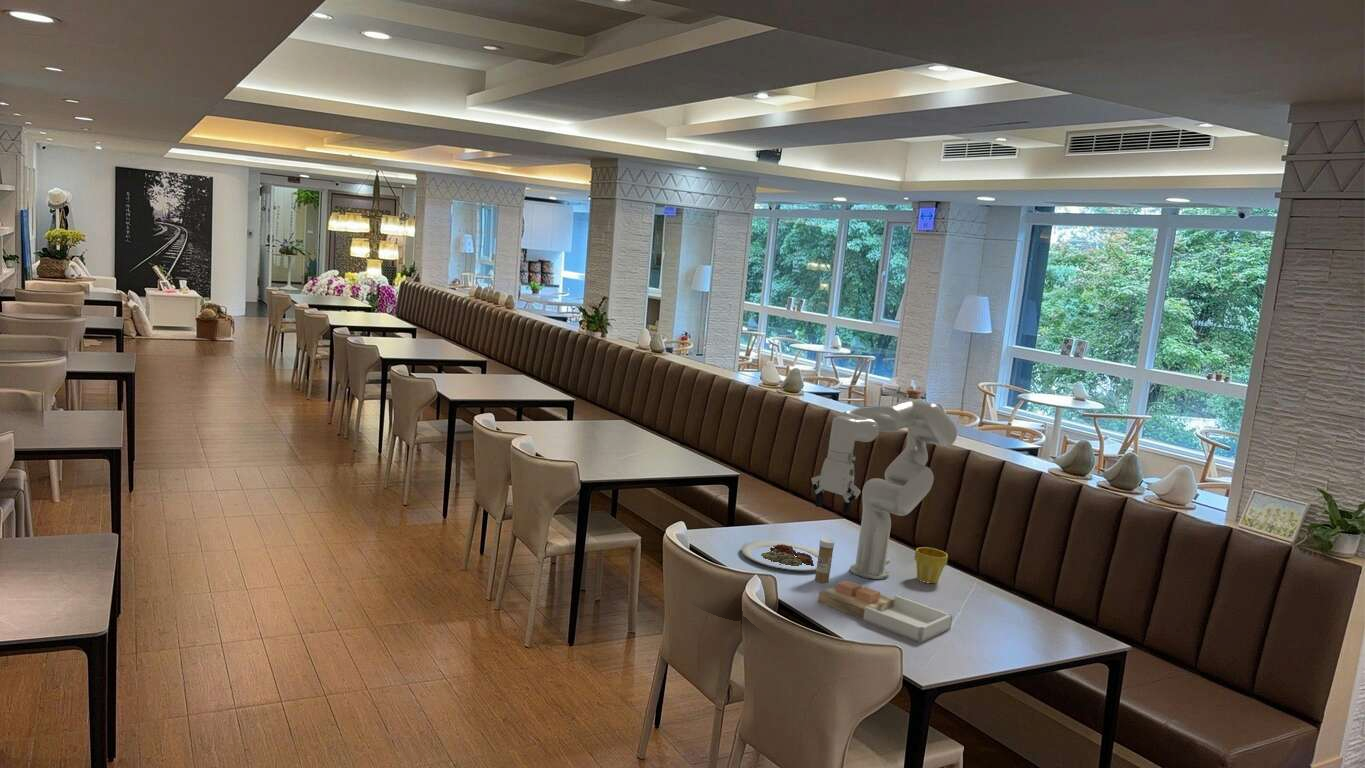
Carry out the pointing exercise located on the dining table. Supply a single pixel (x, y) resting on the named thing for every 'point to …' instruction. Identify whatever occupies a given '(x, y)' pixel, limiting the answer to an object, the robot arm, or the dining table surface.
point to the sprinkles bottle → (824, 560)
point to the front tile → (867, 595)
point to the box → (910, 619)
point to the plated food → (782, 553)
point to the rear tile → (848, 588)
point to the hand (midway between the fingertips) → (831, 510)
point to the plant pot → (930, 563)
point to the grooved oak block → (852, 602)
